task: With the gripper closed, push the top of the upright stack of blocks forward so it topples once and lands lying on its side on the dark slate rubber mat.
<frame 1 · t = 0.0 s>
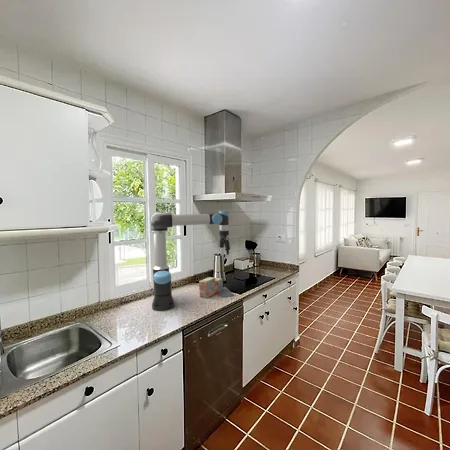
hand: (224, 257, 197), 28 cm above the worktop, fingers open, 13 cm apart
stack of blocks: (212, 293, 195), on the worktop, touching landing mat
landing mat: (223, 292, 198), on the worktop
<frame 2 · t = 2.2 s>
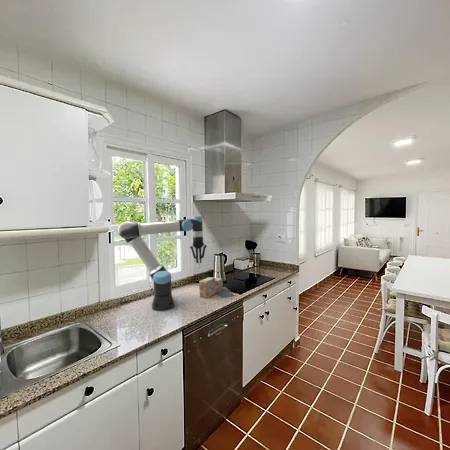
hand: (199, 267, 191), 22 cm above the worktop, fingers closed
nothing on the worktop moved.
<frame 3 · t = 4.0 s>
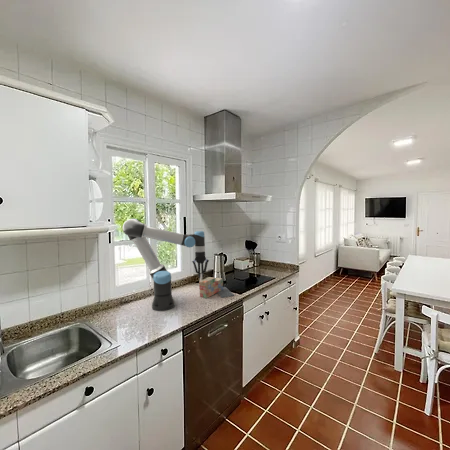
hand: (201, 281, 192), 11 cm above the worktop, fingers closed
stack of blocks: (212, 293, 195), on the worktop, touching gripper, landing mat
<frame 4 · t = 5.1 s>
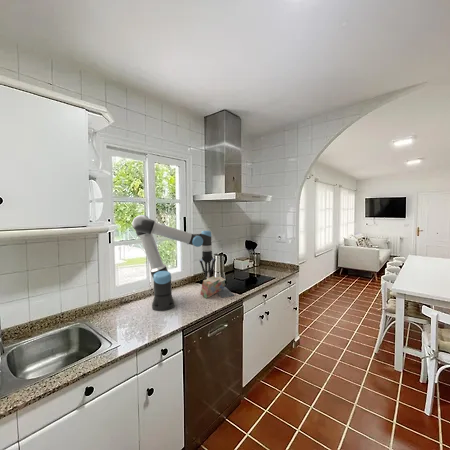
hand: (208, 280, 193), 11 cm above the worktop, fingers closed
stack of blocks: (212, 292, 195), point 1 cm above the worktop, touching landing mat
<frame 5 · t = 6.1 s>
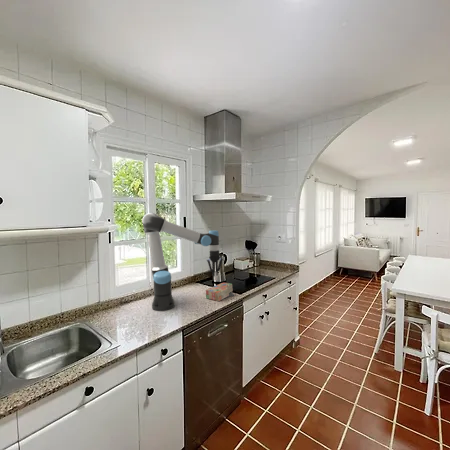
hand: (215, 280, 195), 11 cm above the worktop, fingers closed
stack of blocks: (214, 289, 193), point 4 cm above the worktop, touching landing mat
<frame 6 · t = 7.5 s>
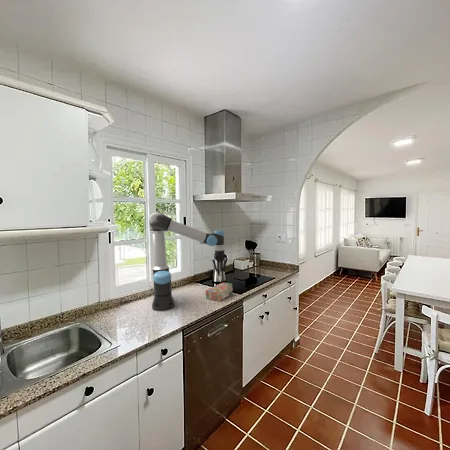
hand: (220, 279, 196), 10 cm above the worktop, fingers closed
stack of blocks: (214, 289, 193), point 4 cm above the worktop, touching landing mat
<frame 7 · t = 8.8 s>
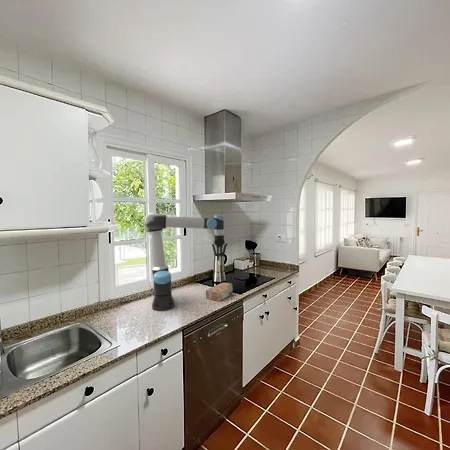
hand: (219, 264, 196), 22 cm above the worktop, fingers closed
nothing on the worktop moved.
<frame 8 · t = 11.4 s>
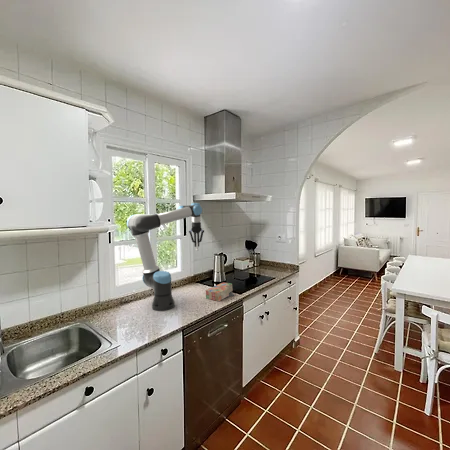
hand: (197, 250, 205), 32 cm above the worktop, fingers closed
nothing on the worktop moved.
at the end: stack of blocks tilted 88°; stack of blocks inside the target area (3.9 cm from its centre), point 3.5 cm above the worktop; stack of blocks touching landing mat, worktop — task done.
